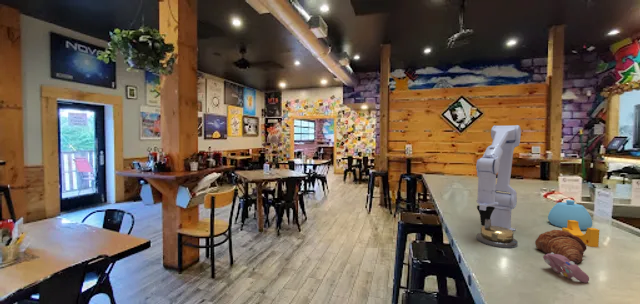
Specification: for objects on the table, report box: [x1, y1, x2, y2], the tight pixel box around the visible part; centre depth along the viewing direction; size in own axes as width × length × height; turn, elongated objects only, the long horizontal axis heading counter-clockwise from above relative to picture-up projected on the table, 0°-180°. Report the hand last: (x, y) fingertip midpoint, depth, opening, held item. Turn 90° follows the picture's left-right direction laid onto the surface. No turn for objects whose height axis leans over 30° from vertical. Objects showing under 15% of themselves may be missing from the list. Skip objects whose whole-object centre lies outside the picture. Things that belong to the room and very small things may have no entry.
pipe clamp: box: [561, 220, 600, 248], centre depth 109 cm, size 12×4×6 cm, turn 172°
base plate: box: [476, 232, 519, 249], centre depth 108 cm, size 13×13×1 cm
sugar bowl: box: [547, 199, 593, 231], centre depth 128 cm, size 15×15×12 cm
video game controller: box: [542, 252, 590, 284], centre depth 81 cm, size 10×5×7 cm, turn 5°
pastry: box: [534, 229, 587, 266], centre depth 98 cm, size 17×15×8 cm
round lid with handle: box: [480, 218, 515, 242], centre depth 107 cm, size 10×10×7 cm
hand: (484, 225), depth 109 cm, fingers closed, pressing on round lid with handle
